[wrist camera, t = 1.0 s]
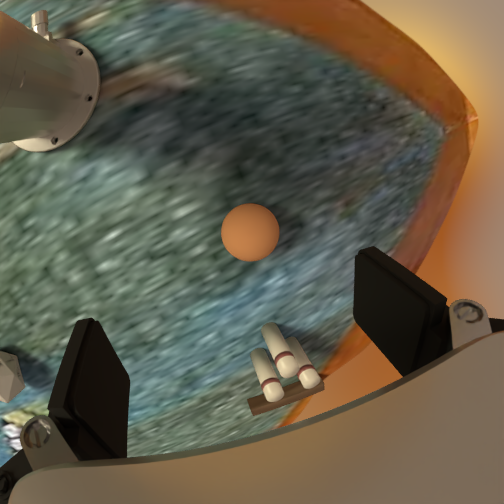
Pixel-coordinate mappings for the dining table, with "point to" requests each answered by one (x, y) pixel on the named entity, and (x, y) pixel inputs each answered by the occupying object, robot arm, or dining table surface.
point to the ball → (250, 232)
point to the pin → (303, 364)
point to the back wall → (290, 395)
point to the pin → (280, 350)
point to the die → (10, 377)
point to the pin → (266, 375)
